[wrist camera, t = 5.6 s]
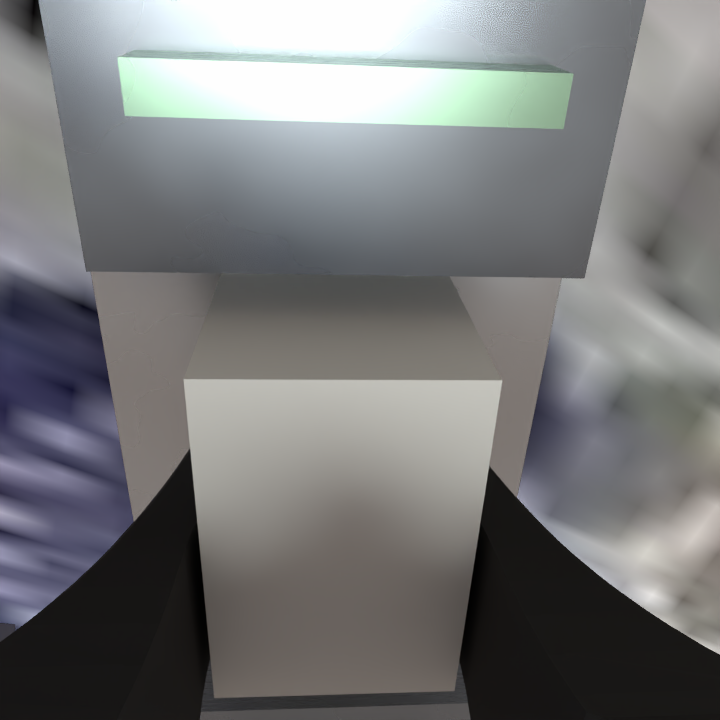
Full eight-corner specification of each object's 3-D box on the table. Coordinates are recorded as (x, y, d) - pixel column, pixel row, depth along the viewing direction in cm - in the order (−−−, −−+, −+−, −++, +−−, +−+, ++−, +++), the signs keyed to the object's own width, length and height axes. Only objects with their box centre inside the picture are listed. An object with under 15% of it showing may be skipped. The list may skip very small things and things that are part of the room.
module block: (248, 488, 17) (215, 713, 11) (235, 235, 14) (183, 379, 8) (408, 486, 17) (452, 706, 11) (430, 239, 14) (502, 380, 9)
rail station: (170, 695, 22) (126, 913, 17) (7, -300, 10) (-315, -583, 5) (471, 685, 23) (516, 893, 18) (654, -253, 11) (965, -459, 6)
